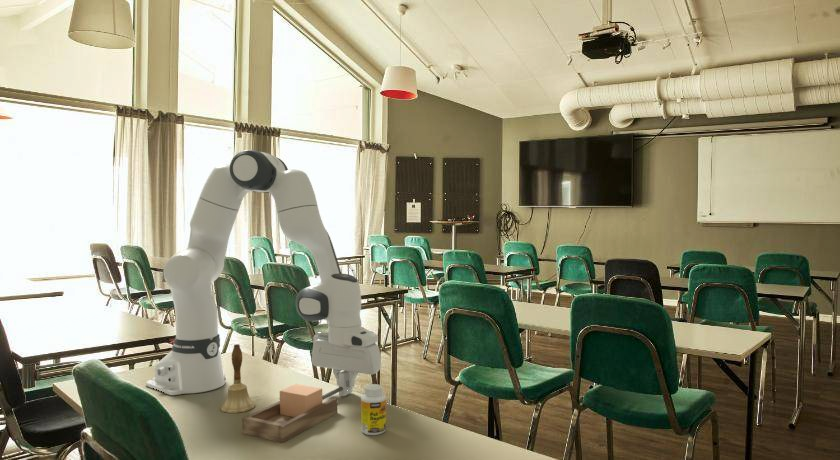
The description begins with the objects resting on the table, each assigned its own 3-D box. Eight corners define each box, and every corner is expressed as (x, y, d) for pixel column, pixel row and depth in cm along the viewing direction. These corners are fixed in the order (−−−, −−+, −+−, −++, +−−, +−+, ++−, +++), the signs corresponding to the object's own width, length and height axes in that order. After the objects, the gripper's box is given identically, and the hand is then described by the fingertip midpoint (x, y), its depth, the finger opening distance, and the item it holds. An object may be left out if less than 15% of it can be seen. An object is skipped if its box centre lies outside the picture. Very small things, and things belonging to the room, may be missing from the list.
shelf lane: (242, 433, 130) (242, 417, 130) (299, 405, 148) (299, 391, 147) (282, 442, 125) (282, 426, 124) (337, 412, 142) (337, 398, 142)
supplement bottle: (368, 438, 127) (368, 392, 126) (357, 430, 131) (356, 385, 131) (390, 432, 130) (390, 387, 129) (378, 424, 134) (378, 381, 134)
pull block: (280, 417, 138) (279, 390, 138) (337, 389, 159) (337, 366, 159) (306, 423, 135) (306, 395, 134) (362, 393, 155) (362, 369, 155)
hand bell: (214, 407, 147) (213, 345, 146) (245, 399, 152) (243, 339, 152) (230, 416, 141) (229, 350, 140) (261, 407, 147) (260, 344, 146)
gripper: (306, 333, 157) (307, 384, 157) (370, 341, 147) (371, 394, 148) (320, 329, 162) (321, 377, 163) (383, 336, 153) (384, 387, 154)
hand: (345, 386), depth 155 cm, fingers closed on pull block, 2 cm apart
